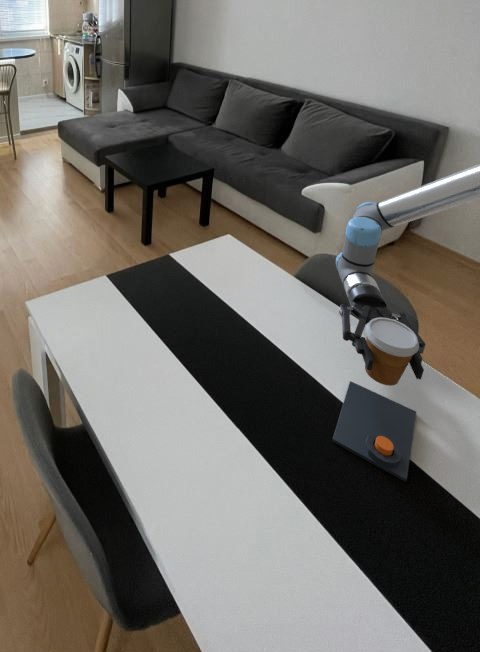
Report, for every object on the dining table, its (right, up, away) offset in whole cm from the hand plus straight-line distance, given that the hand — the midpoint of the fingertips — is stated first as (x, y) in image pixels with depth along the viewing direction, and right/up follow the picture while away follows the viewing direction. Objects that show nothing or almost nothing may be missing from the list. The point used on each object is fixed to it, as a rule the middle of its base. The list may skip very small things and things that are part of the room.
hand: (394, 369), depth 89 cm
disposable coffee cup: (+2, -4, +7) cm, 8 cm away
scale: (0, -17, +6) cm, 18 cm away
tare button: (-3, -16, 0) cm, 16 cm away
